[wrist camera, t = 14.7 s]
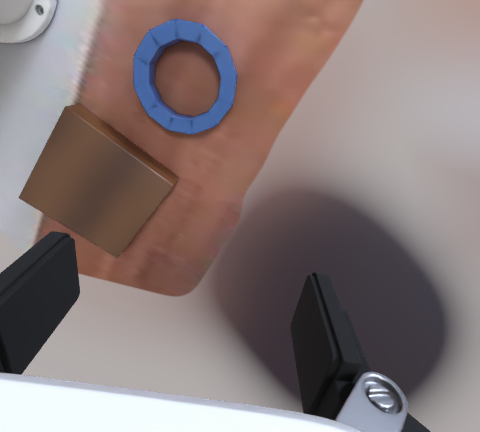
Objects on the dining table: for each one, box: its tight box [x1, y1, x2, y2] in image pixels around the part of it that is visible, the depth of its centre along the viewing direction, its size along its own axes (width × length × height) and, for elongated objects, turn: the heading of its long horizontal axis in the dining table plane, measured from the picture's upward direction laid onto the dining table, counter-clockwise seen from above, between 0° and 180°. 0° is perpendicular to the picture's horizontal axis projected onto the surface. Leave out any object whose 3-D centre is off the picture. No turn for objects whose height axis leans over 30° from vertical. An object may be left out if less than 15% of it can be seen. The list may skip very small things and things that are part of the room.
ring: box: [133, 19, 237, 135], centre depth 31 cm, size 11×11×2 cm
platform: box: [19, 104, 179, 258], centre depth 37 cm, size 14×14×3 cm
